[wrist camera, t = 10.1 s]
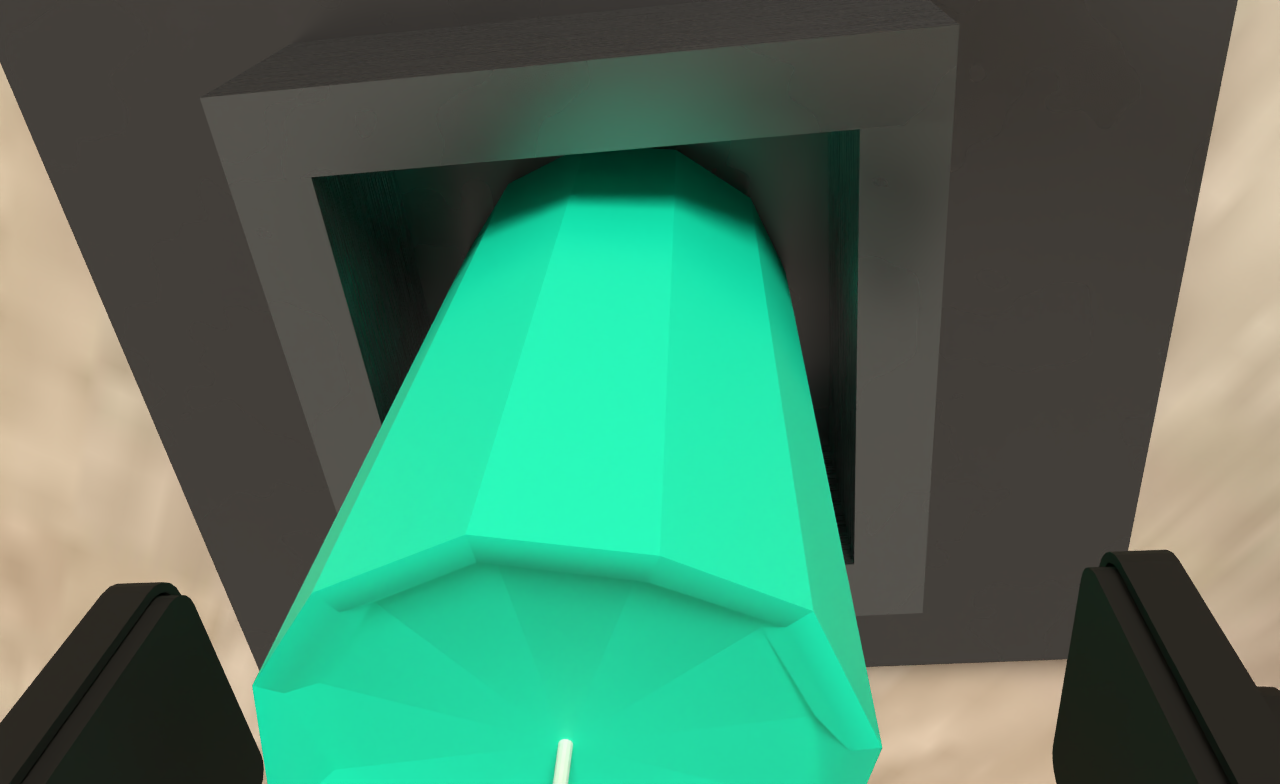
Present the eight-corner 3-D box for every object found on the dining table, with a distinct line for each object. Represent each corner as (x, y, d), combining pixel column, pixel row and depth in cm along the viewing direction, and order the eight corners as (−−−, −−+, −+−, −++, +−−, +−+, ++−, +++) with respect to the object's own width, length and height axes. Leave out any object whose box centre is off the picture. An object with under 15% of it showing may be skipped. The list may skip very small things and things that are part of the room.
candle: (617, 483, 20) (542, 1177, 10) (398, 286, 18) (18, 911, 8) (852, 313, 18) (1067, 986, 8) (634, 66, 16) (533, 541, 6)
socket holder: (1293, -477, 13) (1550, -598, 9) (1090, 626, 23) (1171, 790, 19) (-101, -285, 15) (-382, -317, 11) (282, 659, 25) (207, 815, 21)
